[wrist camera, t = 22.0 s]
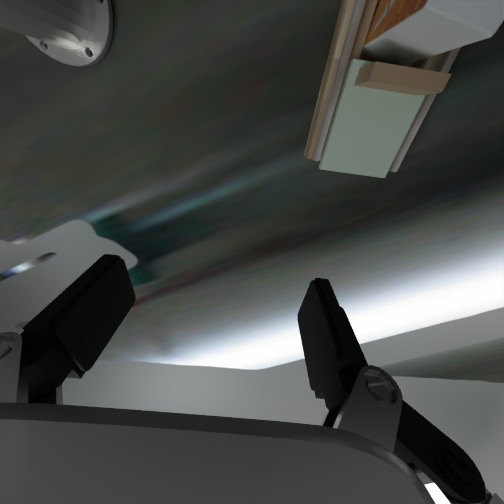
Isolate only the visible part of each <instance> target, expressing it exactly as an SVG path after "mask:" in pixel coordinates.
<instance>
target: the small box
mask: <svg viewBox="0 0 504 504" xmlns="http://www.w3.org/2000/svg"><path fill="white" fill-rule="evenodd" d="M503 21H504V0H378V1H377V4H376V7H375V11H374V14H373V17H372V20H371V23H370V26H369V30H368V33H367V36H366V39H365V42H364V45H363V49H362V52H361V53H362V54H364V55H367V56H369V57H372V58H375V59H377V60H380V61H383V62H385V63H388V64H394V65H400V66H404V65H407V64H410V63H413V62H416V61H419V60H422V59H425V58H428V57H431V56H434V55H437V54H440V53H443V52H447V51H450V50H453V49H456V48H459V47H462V46H465V45H468V44H471V43H474V42H477V41H480V40H483V39H487V38H490V37H491V36H493V35H494V33H495V32H496V31H497V29H498V28H499V26H500V25H501V23H502V22H503Z"/></svg>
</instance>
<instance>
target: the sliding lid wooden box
mask: <svg viewBox="0 0 504 504" xmlns="http://www.w3.org/2000/svg"><path fill="white" fill-rule="evenodd" d="M377 1H378V0H342V3H341V7H340V11H339V15H338V19H337V23H336V27H335V32H334V36H333V40H332V44H331V48H330V52H329V56H328V60H327V64H326V68H325V72H324V76H323V80H322V84H321V88H320V92H319V96H318V100H317V104H316V108H315V112H314V116H313V120H312V124H311V128H310V132H309V136H308V140H307V144H306V148H305V152H304V156H305V157H306V158H307V159H312V160H314V161H319V160H321V158H322V154H323V151H324V148H325V144H326V141H327V137H328V134H329V131H330V127H331V124H332V121H333V117H334V114H335V111H336V107H337V104H338V101H339V97H340V94H341V90H342V87H343V84H344V80H345V77H346V74H347V70H348V67H349V64H350V61H351V60H352V59H358V60H364V61H370V62H382V63H385V62H383V61H380V60H377V59H375V58H372V57H369V56H367V55H364V54H362V53H361V52H362V49H363V45H364V42H365V39H366V36H367V33H368V30H369V26H370V23H371V20H372V17H373V14H374V11H375V7H376V4H377ZM460 48H461V47H459V48H456V49H453V50H450V51H447V52H443V53H440V54H437V55H434V56H431V57H428V58H425V59H422V60H419V61H416V62H413V63H410V64H407V65H404V66H406V67H412V68H418V69H424V70H430V71H436V72H442V73H448V71H449V69H450V67H451V65H452V64H453V62H454V60H455V58H456V56H457V54H458V52H459V50H460ZM436 94H437V93H436ZM436 94H428V95H425V97H424V99H423V101H422V103H421V105H420V108H419V110H418V112H417V114H416V116H415V118H414V120H413V122H412V124H411V126H410V128H409V130H408V132H407V134H406V136H405V138H404V140H403V142H402V144H401V146H400V148H399V150H398V152H397V154H396V156H395V158H394V160H393V162H392V164H391V166H390V168H389V171H392V172H396V171H397V170H398V168H399V166H400V164H401V162H402V160H403V158H404V156H405V154H406V152H407V150H408V149H409V147H410V145H411V143H412V141H413V139H414V137H415V135H416V133H417V131H418V129H419V127H420V125H421V123H422V121H423V120H424V118H425V116H426V114H427V112H428V110H429V108H430V106H431V104H432V102H433V100H434V98H435V96H436Z"/></svg>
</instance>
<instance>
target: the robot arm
mask: <svg viewBox="0 0 504 504" xmlns="http://www.w3.org/2000/svg"><path fill="white" fill-rule="evenodd" d="M0 27H3V28H6V29H9V30H12V31H15V32H18V33H21V34H23V35H25V36H26V37H27V38H28V39H29V40H30V41H31V42H32V43H33V44H34V45H35V46H36V47H38V48H39V49H40V50H41V51H42V52H44V53H45V54H47V55H48V56H50V57H51V58H53V59H55V60H57V61H59V62H61V63H65V64H68V65H71V66H77V67H86V66H91V65H93V64H96V63H98V62H99V61H100V60H101V59H102V58H103V57H104V56H105V54H106V52H107V51H108V49H109V46H110V43H111V40H112V33H113V12H112V5H111V0H103V2H102V0H0ZM92 53H93V55H92ZM135 298H136V297H135V293H134V290H133V287H132V284H131V281H130V277H129V274H128V271H127V268H126V265H125V262H124V260H123V259H121V257H120V256H118V255H109V254H105V255H103V256H102V257H101V258H99V259H98V260H97V261H96V262H95V263H94V264H93V265H92V266H91V267H90V268H89V269H87V270H86V271H85V272H84V273H83V274H82V275H81V276H80V277H79V278H77V279H76V280H75V281H74V282H73V283H72V284H71V285H70V286H69V287H68V288H66V289H65V290H64V291H63V292H62V293H61V294H60V295H59V296H58V297H57V298H56V299H54V300H53V301H52V302H51V303H50V304H49V305H48V306H47V307H46V308H44V309H43V310H42V311H41V312H40V313H39V314H38V315H37V316H36V317H34V318H33V319H32V320H31V321H30V322H29V323H28V324H27V325H26V326H25V327H23V329H24V331H23V332H22V333H21V334H20V335H19V334H18V333H14V332H4V333H0V504H504V502H503V501H502V500H501V498H499V496H498V495H497V494H496V493H490V492H489V491H488V490H487V489H486V488H485V483H484V481H483V478H482V476H481V474H480V472H479V470H478V468H477V467H476V465H475V464H474V462H473V461H472V460H471V458H470V457H469V456H468V455H467V453H466V452H465V451H464V450H463V449H461V447H459V446H458V445H457V444H456V443H455V442H454V441H452V440H451V439H450V438H449V437H448V436H446V435H445V434H444V433H443V432H441V431H440V430H439V429H438V428H437V427H435V426H434V425H433V424H432V423H430V422H429V421H428V420H427V419H426V418H424V417H423V416H422V415H421V414H419V413H418V412H417V411H416V410H414V409H413V408H412V407H411V406H409V405H408V404H407V403H406V402H405V401H403V399H402V393H401V390H400V388H399V386H398V385H397V383H396V382H395V381H394V379H393V378H392V377H391V376H390V375H389V374H388V373H387V372H385V371H384V370H382V369H381V368H379V367H376V366H373V365H368V364H367V361H366V359H365V357H364V354H363V352H362V350H361V348H360V345H359V343H358V341H357V338H356V336H355V334H354V331H353V329H352V327H351V325H350V322H349V320H348V318H347V315H346V313H345V311H344V309H343V308H342V307H340V306H339V303H338V301H337V299H336V296H335V294H334V291H333V289H332V287H331V284H330V282H329V280H328V279H322V278H316V279H315V280H312V281H311V283H310V285H309V288H308V290H307V292H306V295H305V297H304V300H303V302H302V305H301V307H300V310H299V312H298V324H299V330H300V335H301V340H302V345H303V351H304V356H305V361H306V367H307V372H308V377H309V382H310V387H311V389H312V390H313V391H315V396H316V398H320V399H325V403H326V407H327V411H326V413H325V415H324V418H323V420H322V422H321V424H320V426H319V425H310V424H299V423H290V422H280V421H268V420H256V419H244V418H232V417H220V416H206V415H194V414H182V413H181V414H180V413H169V412H155V411H142V410H129V409H115V408H100V407H87V406H74V405H63V397H62V383H63V381H64V380H65V379H66V377H68V378H80V379H81V378H82V376H83V375H84V373H85V372H86V371H88V370H90V369H91V367H92V366H93V365H94V363H95V362H96V360H97V359H98V357H99V356H100V354H101V353H102V351H103V350H104V348H105V347H106V345H107V344H108V342H109V341H110V339H111V338H112V336H113V335H114V333H115V331H116V330H117V328H118V327H119V325H120V324H121V322H122V321H123V319H124V318H125V316H126V315H127V313H128V312H129V310H130V309H131V307H132V306H133V304H134V302H135Z"/></svg>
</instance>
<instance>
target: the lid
mask: <svg viewBox="0 0 504 504" xmlns="http://www.w3.org/2000/svg"><path fill="white" fill-rule="evenodd" d="M450 76H451V74H448V73H442V72H436V71H430V70H424V69H418V68H412V67H406V66H400V65H394V64H388V63H382V62H370V61H364V60H358V59H352V60H351V61H350V64H349V67H348V70H347V74H346V77H345V80H344V84H343V87H342V90H341V94H340V97H339V101H338V104H337V107H336V111H335V114H334V117H333V121H332V124H331V127H330V131H329V134H328V137H327V141H326V144H325V148H324V151H323V154H322V158H321V161H320V164H319V169H322V170H330V171H337V172H344V173H351V174H358V175H366V176H373V177H380V178H385V176H386V174H387V172H388V170H389V168H390V166H391V164H392V162H393V160H394V158H395V156H396V154H397V152H398V150H399V148H400V146H401V144H402V142H403V140H404V138H405V136H406V134H407V132H408V130H409V128H410V126H411V124H412V122H413V120H414V118H415V116H416V114H417V112H418V110H419V108H420V105H421V103H422V101H423V99H424V97H425V95H428V94H436V93H442V91H443V89H444V87H445V86H446V84H447V82H448V80H449V78H450Z"/></svg>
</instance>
